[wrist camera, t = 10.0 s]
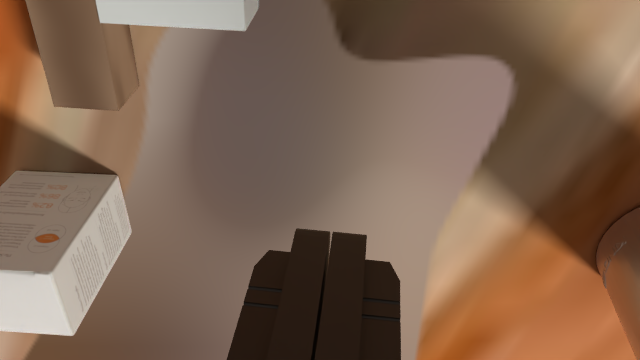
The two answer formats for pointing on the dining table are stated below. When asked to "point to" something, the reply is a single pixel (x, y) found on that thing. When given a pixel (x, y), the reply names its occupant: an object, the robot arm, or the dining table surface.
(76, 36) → the brown long bar
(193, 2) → the block
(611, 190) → the dining table surface
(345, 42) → the dining table surface
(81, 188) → the small box
